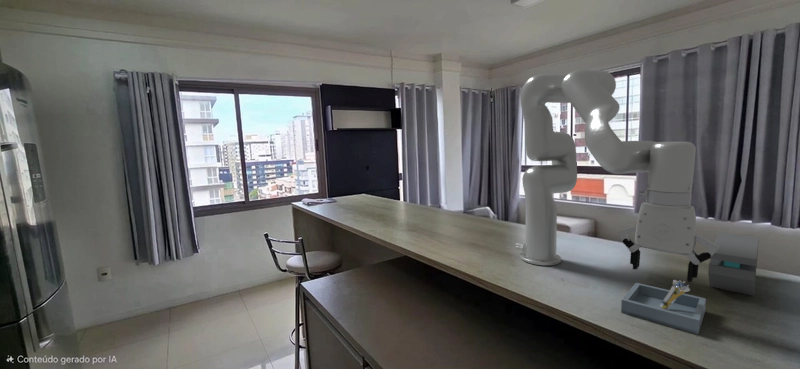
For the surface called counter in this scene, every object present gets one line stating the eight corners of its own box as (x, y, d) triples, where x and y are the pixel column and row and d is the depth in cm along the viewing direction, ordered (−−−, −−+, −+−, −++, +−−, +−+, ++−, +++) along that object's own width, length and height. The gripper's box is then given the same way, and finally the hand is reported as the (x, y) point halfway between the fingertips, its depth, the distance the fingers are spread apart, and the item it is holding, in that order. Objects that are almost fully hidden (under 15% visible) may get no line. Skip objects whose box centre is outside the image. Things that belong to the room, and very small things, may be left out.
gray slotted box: (752, 305, 76) (756, 259, 74) (706, 294, 81) (709, 252, 80) (755, 275, 92) (759, 237, 91) (717, 268, 98) (719, 232, 97)
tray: (621, 312, 74) (621, 299, 74) (635, 294, 83) (635, 282, 83) (698, 334, 65) (699, 320, 64) (705, 311, 73) (706, 298, 73)
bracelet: (663, 318, 71) (684, 291, 67) (648, 307, 73) (667, 281, 69) (678, 310, 74) (698, 284, 70) (662, 299, 76) (682, 274, 73)
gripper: (616, 196, 75) (612, 268, 77) (722, 206, 62) (713, 291, 65) (625, 192, 80) (621, 259, 82) (724, 200, 67) (716, 279, 70)
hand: (661, 273), depth 74 cm, fingers open, 9 cm apart
